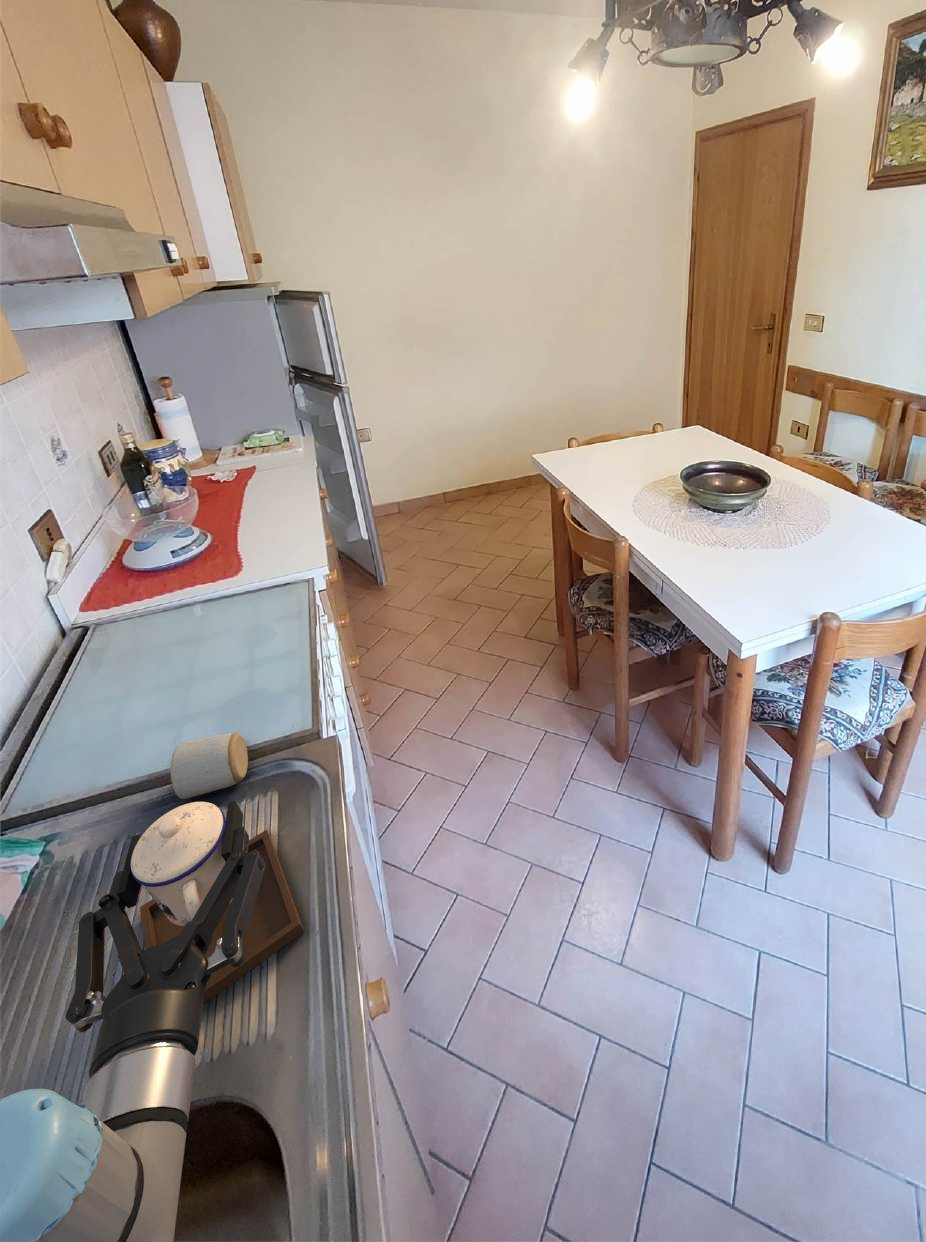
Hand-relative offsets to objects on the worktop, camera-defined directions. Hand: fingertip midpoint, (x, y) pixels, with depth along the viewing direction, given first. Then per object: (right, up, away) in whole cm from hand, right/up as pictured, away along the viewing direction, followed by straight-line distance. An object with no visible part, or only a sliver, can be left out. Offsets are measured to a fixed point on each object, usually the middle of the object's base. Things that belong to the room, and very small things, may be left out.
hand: (189, 825), depth 66 cm
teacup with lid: (+2, -8, 0) cm, 9 cm away
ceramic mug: (-8, -4, +21) cm, 23 cm away
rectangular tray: (+3, -13, +2) cm, 13 cm away
